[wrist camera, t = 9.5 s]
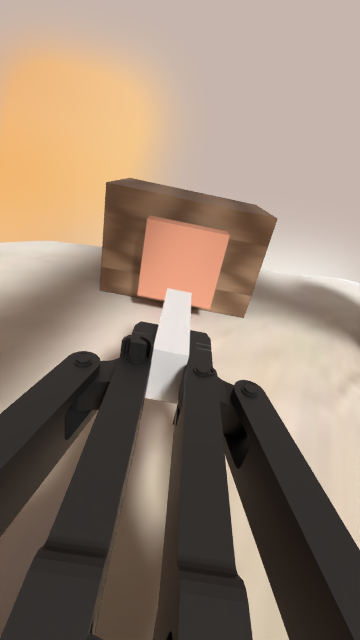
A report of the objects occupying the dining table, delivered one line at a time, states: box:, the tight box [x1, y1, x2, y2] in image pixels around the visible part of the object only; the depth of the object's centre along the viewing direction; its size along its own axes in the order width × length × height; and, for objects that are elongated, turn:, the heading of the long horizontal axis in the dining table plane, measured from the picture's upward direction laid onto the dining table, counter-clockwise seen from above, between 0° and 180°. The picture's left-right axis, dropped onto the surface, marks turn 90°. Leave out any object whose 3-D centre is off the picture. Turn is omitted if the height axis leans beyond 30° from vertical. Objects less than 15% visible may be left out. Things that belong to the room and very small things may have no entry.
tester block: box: [100, 178, 277, 318], centre depth 37 cm, size 18×12×12 cm, turn 87°
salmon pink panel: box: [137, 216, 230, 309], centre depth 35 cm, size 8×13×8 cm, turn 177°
